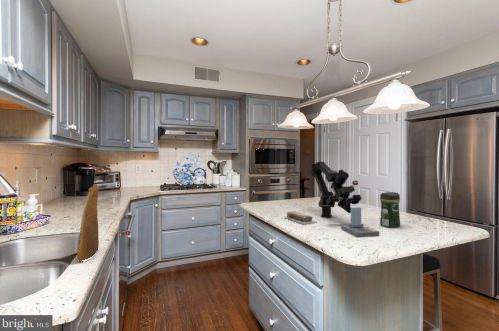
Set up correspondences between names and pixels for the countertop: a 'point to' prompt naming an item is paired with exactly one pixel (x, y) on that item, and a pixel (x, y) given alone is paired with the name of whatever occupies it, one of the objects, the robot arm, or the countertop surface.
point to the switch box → (360, 231)
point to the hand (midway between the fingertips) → (349, 212)
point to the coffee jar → (390, 209)
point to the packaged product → (300, 218)
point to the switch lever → (356, 217)
